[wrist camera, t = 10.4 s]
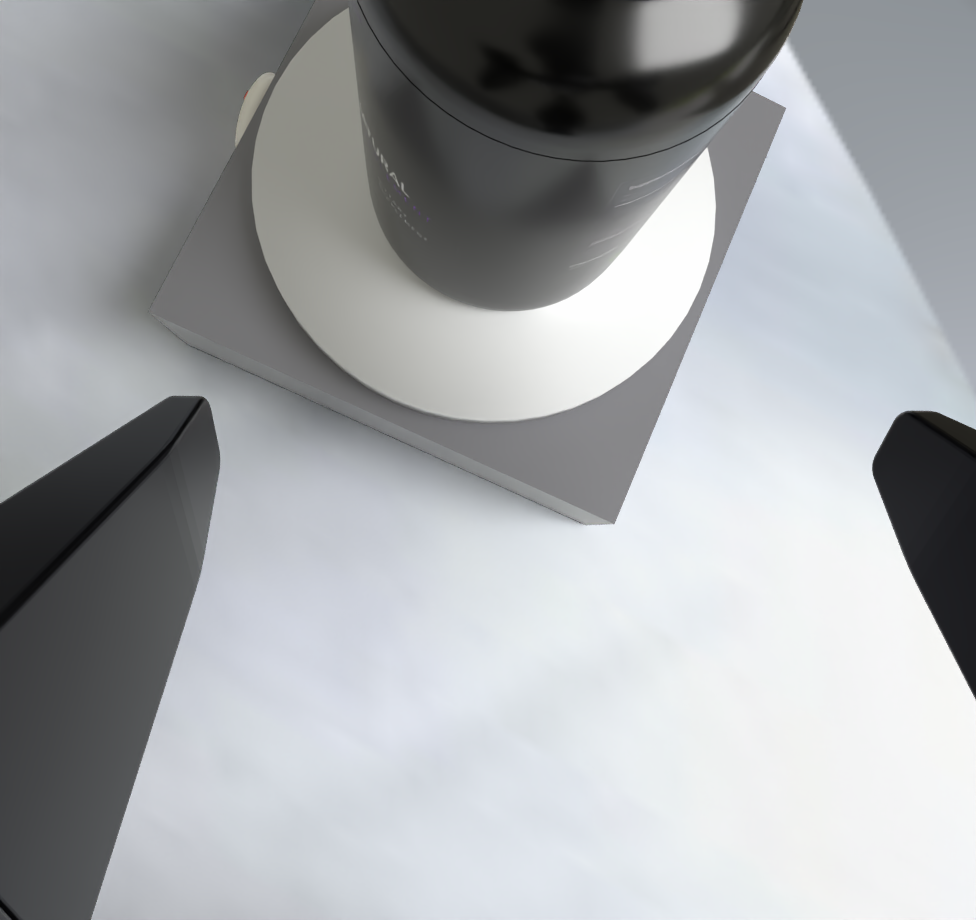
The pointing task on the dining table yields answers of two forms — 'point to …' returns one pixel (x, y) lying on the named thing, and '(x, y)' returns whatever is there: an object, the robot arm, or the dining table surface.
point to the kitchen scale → (444, 296)
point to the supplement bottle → (542, 128)
